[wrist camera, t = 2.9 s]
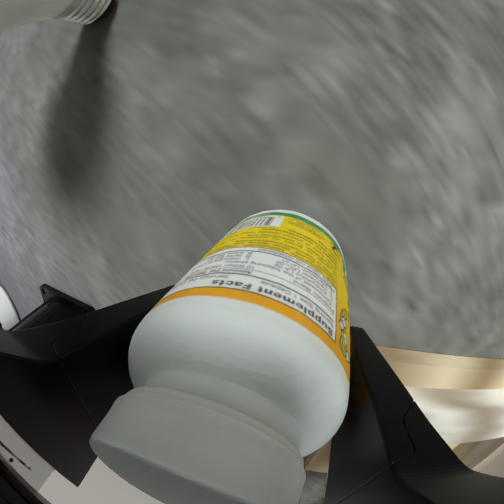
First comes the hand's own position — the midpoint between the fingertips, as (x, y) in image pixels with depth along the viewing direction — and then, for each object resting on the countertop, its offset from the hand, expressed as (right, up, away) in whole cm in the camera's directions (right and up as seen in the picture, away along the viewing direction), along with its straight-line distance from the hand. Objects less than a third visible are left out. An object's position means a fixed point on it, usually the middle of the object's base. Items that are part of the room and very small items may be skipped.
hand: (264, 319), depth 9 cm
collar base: (+11, -10, +5) cm, 16 cm away
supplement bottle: (+1, +1, +3) cm, 4 cm away
